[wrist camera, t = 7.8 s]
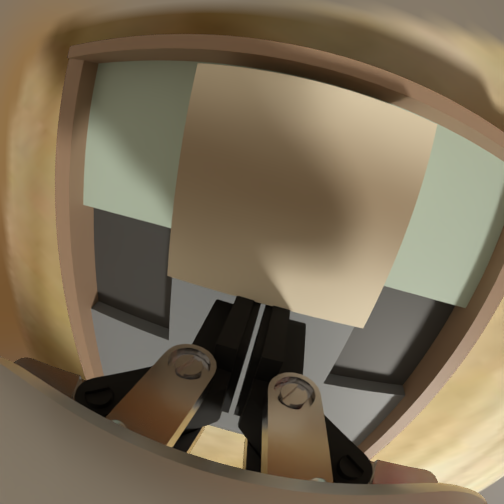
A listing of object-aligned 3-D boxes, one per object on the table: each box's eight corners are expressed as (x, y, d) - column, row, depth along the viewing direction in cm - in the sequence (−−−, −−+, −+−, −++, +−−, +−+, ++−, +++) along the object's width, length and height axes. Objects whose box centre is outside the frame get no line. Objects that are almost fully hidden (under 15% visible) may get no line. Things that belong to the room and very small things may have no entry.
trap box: (362, 442, 16) (363, 475, 14) (101, 368, 18) (81, 395, 15) (521, 167, 8) (562, 181, 5) (98, 57, 10) (54, 49, 7)
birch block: (352, 280, 11) (363, 328, 8) (200, 240, 11) (167, 275, 8) (401, 125, 8) (437, 124, 5) (229, 82, 9) (197, 63, 6)
